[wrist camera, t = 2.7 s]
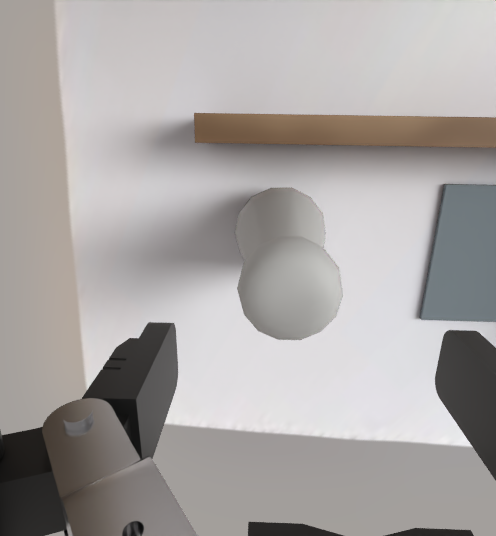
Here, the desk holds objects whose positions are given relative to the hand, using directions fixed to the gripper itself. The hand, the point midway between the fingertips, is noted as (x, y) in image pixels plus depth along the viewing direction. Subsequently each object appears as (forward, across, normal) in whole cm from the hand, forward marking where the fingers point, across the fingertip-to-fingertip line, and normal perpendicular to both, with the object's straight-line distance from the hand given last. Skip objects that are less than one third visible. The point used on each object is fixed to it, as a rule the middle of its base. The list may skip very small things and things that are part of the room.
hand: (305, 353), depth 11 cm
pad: (+16, -16, +2) cm, 23 cm away
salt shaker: (+17, 0, 0) cm, 17 cm away
